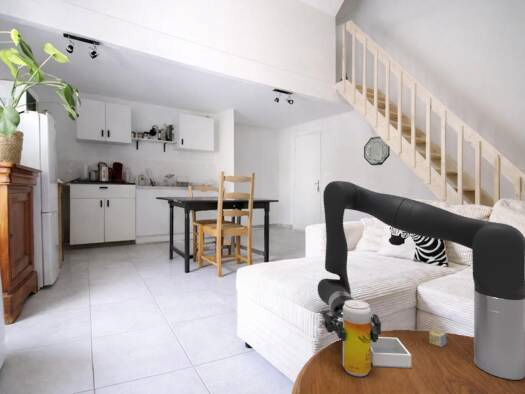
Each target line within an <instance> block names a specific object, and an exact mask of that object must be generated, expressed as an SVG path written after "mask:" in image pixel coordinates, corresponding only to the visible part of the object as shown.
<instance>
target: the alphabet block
mask: <svg viewBox="0 0 525 394" xmlns="http://www.w3.org/2000/svg"><path fill="white" fill-rule="evenodd" d="M428 335H429V341H428V342H429V344H432V345H434V346H437V347H440V348H443V347H445V345H447V333H446V332H443V331H439V330H436V329H433V330H431V331H429V334H428Z"/></svg>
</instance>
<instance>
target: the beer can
mask: <svg viewBox="0 0 525 394" xmlns="http://www.w3.org/2000/svg"><path fill="white" fill-rule="evenodd" d="M371 316H372V310H371V307H370V304H369V303H368V302H366V301H363V300H360V299H359V300H358V299H354V300H348V301H345V304H344V306H343V328H344V330H345V334H346V336H345V341H342V366H343V368H344V369H345V371H346V373H348V374H350V375H351V376H354V377H365V376H367V375H368V374H369V372H371V370H372V364H371Z"/></svg>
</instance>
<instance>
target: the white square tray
mask: <svg viewBox="0 0 525 394" xmlns="http://www.w3.org/2000/svg"><path fill="white" fill-rule="evenodd" d="M371 367H377V368H393V369H394V368H396V369H412V353H410V352H409V351H408V349H407V348H406V347H405V345H404V344H403V343H402V342H401V341H400V339H399V338H398V337H388V336H378V340H377V342H372V340H371Z"/></svg>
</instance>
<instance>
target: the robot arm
mask: <svg viewBox="0 0 525 394" xmlns="http://www.w3.org/2000/svg"><path fill="white" fill-rule="evenodd" d="M322 195H323V197H322V198H323V209H324V221H325V234H326V235H325V236H326V237H325V238H326V241H325V242H326V243H325V256H324V257H325V261H324V269H325V271H326V272H328V273H330V274H334V275H336V276H339V279H336V278H322V279H321V280H319V282H318V284H317V294H318V297H319V298H320V300H321V301H322V302H324V303H325V304H326V305H327V306H328V309H329V313H330V314H328V312H322V313H321V322H322V326H323V327H324V328H325V330H326V331H327V332H328V333H331V334H332V333H333V332H335V334H336V335H337V338H338V339H341V341H342V342H343V341H345V336H346V334H345V330H344V328H343V306H344V304H345V301H348V300H355V298H354V297H353V296H352V295H351V294H352V291H351V285H350V281H349V277H348V255H349V254H348V253H349V250H348V249H349V248H348V242H347V238H346V234H345V228H344V217H345V216H344V215H345V210H350V211H351V210H352V211H356V212H359V213H364V214H367V215H369V216H372V217H374V218H376V219H377V220H379V221H380V222H382V223H383V224H385V225H386V226H389V227H391V228H394V229H396V230H399V231H402V232H404V233H405V232H406V233H408V234H411V235H415V236H419V237H423V238H424V237H425V238H428V239H429V238H430V239H433V240H434V239H435V240H441V241H446V242H451V243H455V244H456V245H457V244H458V245H460V246H462V247H466V248H468V249H469V250H470V249H471V250H472V251H471V253H472V254H471V255H472V256H471V257H472V258H471V259H472V280H473V283H474V290H473V291H474V292H473V293H474V294H473V295H474V296H473V297H474V298H473V299H474V300H473V303H474V304H473V305H474V306H473V311H474V313H473V316H474V317H473V319H474V320H473V321H474V322H473V362H474V364H475V365H476V367H478V368H479V369H480V370H482V371H484V372H485V373H488V374H490V375H493V376H496V377H499V378H502V379H507V380H512V381H513V380H515V381H516V380H517V381H518V380H523V379H524V378H525V236H524V234H523V233H522V232H521V231H520V230H519V229H517V228H516V227H514V226H512V225H509V224H507V223H501V222H496V221H495V222H494V221H488V220H483V219H478V218H472V217H468V216H464V215H461V214H458V213H456V212H452V211H448V210H447V209H443V208H441V207H437V206H435V205H432V204H429V203H425V202H423V201H419V200H415V199H412V198H408V197H404V196H398V195H396V194H395V195H394V194H388V193H382V192H381V193H380V192H378V191H377V192H376V191H373V190H370V189H367V188H365V187H362V186H360V185H357V184H355V183H353V182H351V181H344V180H334V181H330V182H329V183H327V184H326V186H325V188H324V190H323V194H322ZM381 334H382V322H381V320H380V318H379V315H378V314H375V313H373V314H371V340H372V342H377V340H378V337H379V336H380V335H381Z"/></svg>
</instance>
